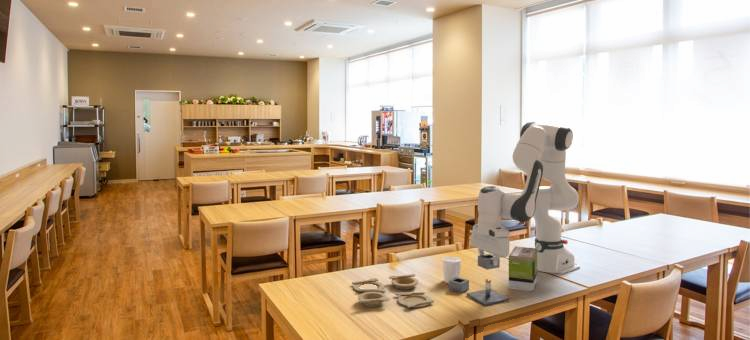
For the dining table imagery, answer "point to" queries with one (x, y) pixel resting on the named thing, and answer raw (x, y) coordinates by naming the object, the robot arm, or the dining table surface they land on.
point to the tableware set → (406, 298)
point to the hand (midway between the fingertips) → (488, 262)
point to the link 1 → (459, 285)
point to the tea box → (523, 268)
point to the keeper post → (488, 295)
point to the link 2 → (487, 261)
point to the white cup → (451, 268)
